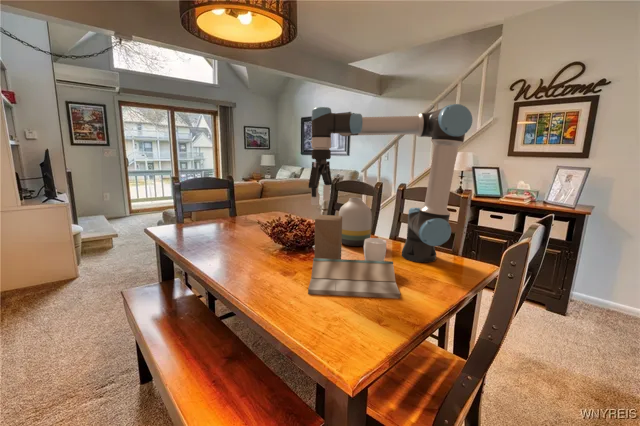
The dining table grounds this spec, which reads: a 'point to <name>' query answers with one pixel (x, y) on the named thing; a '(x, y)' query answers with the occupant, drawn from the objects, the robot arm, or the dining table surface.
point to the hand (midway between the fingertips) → (320, 202)
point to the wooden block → (328, 237)
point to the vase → (355, 222)
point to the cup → (374, 249)
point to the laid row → (353, 288)
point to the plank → (353, 270)
